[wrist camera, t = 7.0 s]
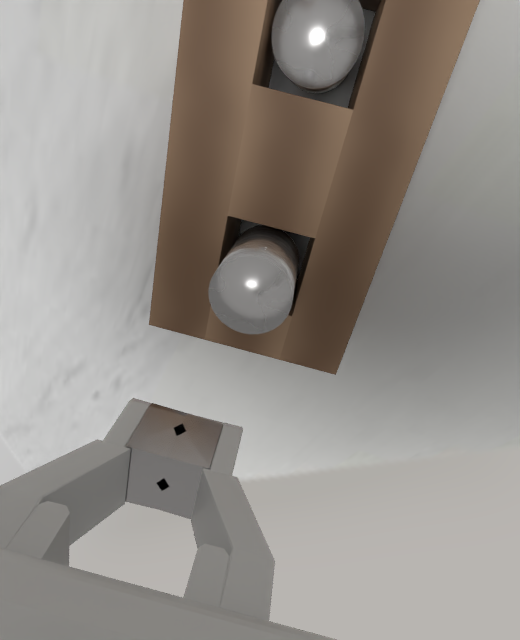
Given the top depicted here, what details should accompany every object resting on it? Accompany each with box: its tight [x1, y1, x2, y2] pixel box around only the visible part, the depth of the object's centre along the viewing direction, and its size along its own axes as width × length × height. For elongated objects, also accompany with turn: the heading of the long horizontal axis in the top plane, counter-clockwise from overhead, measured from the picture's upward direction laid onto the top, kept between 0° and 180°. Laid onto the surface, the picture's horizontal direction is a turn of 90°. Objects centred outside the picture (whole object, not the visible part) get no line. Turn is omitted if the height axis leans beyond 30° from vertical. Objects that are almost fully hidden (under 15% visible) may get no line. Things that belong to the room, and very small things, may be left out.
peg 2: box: [272, 0, 365, 93], centre depth 20 cm, size 4×4×6 cm
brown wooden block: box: [149, 0, 480, 375], centre depth 23 cm, size 12×22×6 cm, turn 167°
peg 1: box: [209, 225, 299, 334], centre depth 22 cm, size 4×4×6 cm
